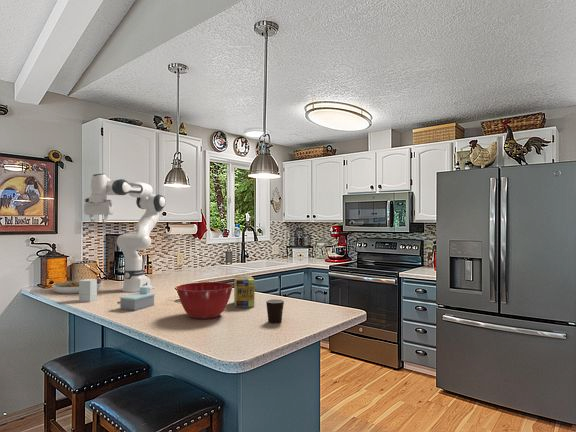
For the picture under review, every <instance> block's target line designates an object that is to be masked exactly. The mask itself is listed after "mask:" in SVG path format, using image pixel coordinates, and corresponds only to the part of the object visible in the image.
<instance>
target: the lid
mask: <svg viewBox="0 0 576 432" xmlns="http://www.w3.org/2000/svg"><path fill="white" fill-rule="evenodd" d="M150 290H151V289H150V287H140V291H138V292H135V293H134V292H133V293H131V294H125V295H123V296H119V299H130V300H137V299H141V298H145V297H149V296H153V295H154V296H156V293H154V292H151V291H150Z"/></svg>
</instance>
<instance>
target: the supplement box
mask: <svg viewBox="0 0 576 432" xmlns="http://www.w3.org/2000/svg"><path fill="white" fill-rule="evenodd" d="M96 300H98V290H97V279H96V278H84V279H81V280H80V281H79V293H78V302H85V303H88V302H89V303H91V302H93V301H94V302H95V301H96Z"/></svg>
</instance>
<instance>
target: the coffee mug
mask: <svg viewBox="0 0 576 432" xmlns="http://www.w3.org/2000/svg"><path fill="white" fill-rule="evenodd" d="M284 302H285V300H282V299H275V298H274V299H267V300H266V313H267V322H268V324H276V325H277V324H280V323H282V321H283V311H284V304H285V303H284Z"/></svg>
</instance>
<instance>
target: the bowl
mask: <svg viewBox="0 0 576 432" xmlns="http://www.w3.org/2000/svg"><path fill="white" fill-rule="evenodd" d="M95 279H97V291H98V290H99V289H100V288H101V287H102V285H103V281H101V279H100V278H95ZM79 281H80V280H67V281H62V282H56V283H53V284H52V285H51V288H52V290H53V292H55V293H57V294H62V295H65V294H67V295H73V294H75V295H76V294H79Z"/></svg>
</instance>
